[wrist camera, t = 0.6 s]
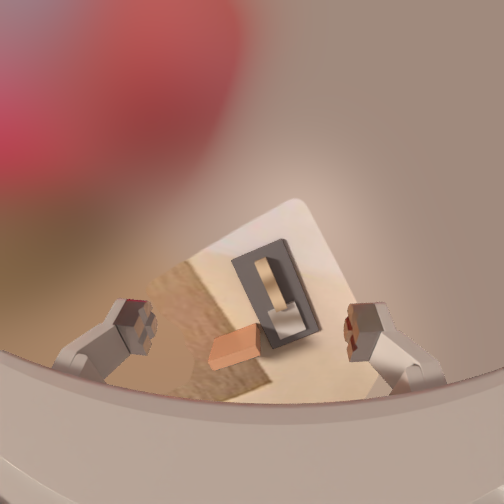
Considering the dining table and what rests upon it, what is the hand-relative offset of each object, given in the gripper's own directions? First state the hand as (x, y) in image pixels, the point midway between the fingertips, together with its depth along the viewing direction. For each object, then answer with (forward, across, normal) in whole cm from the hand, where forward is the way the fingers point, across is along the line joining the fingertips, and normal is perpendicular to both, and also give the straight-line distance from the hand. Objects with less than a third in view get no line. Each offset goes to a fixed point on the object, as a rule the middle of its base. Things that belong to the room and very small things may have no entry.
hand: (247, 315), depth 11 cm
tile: (+33, -7, -40) cm, 53 cm away
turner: (+36, +2, -33) cm, 49 cm away
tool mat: (+37, +2, -32) cm, 49 cm away
